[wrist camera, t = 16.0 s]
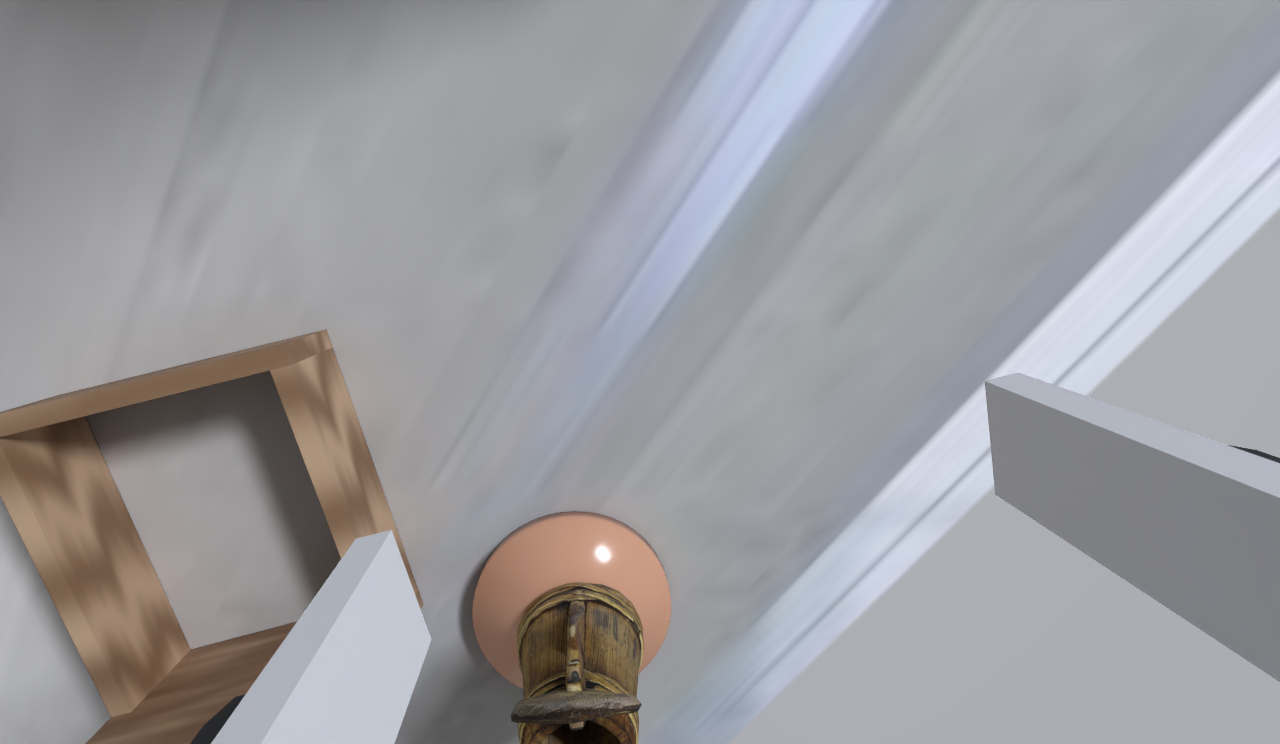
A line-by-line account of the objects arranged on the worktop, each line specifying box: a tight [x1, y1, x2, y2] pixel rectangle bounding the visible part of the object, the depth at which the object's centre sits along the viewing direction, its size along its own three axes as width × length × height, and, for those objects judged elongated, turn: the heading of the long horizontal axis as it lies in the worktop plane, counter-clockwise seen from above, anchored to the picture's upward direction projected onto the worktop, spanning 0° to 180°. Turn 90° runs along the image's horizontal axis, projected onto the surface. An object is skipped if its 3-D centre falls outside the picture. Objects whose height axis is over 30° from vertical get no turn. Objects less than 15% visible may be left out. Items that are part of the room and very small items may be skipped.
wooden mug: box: [511, 582, 644, 744], centre depth 36 cm, size 9×14×18 cm, turn 0°
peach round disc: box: [472, 511, 671, 689], centre depth 45 cm, size 14×14×2 cm
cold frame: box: [0, 330, 423, 744], centre depth 37 cm, size 20×17×12 cm
